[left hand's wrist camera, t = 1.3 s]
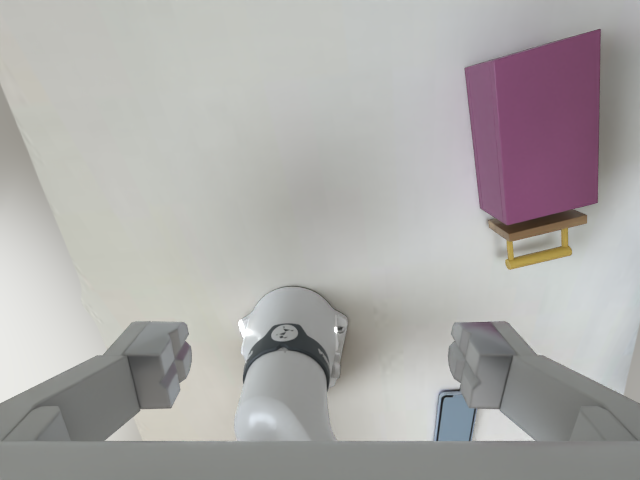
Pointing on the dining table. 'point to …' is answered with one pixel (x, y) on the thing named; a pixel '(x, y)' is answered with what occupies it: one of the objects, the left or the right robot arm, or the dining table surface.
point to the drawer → (537, 228)
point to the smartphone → (454, 418)
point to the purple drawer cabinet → (537, 128)
